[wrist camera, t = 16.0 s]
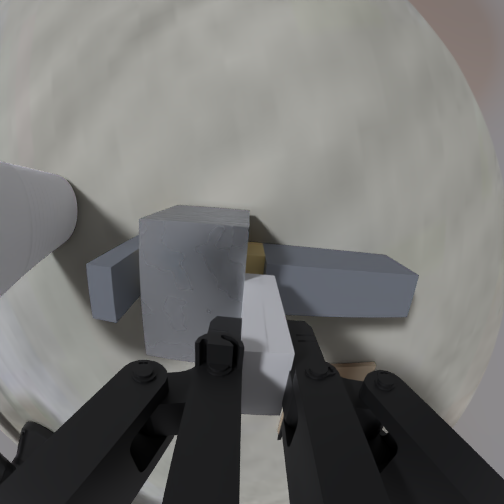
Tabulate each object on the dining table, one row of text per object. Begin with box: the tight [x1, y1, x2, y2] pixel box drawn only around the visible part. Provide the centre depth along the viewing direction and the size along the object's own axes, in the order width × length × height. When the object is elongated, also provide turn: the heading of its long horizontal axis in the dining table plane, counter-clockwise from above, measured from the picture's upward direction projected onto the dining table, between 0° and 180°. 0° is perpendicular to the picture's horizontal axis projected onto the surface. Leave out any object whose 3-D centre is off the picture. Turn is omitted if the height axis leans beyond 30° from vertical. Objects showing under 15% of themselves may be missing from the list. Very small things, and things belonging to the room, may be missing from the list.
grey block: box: [139, 205, 250, 362], centre depth 16 cm, size 5×7×7 cm
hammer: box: [86, 235, 419, 323], centre depth 16 cm, size 19×3×8 cm, turn 85°
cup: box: [0, 161, 78, 297], centre depth 13 cm, size 10×10×11 cm
